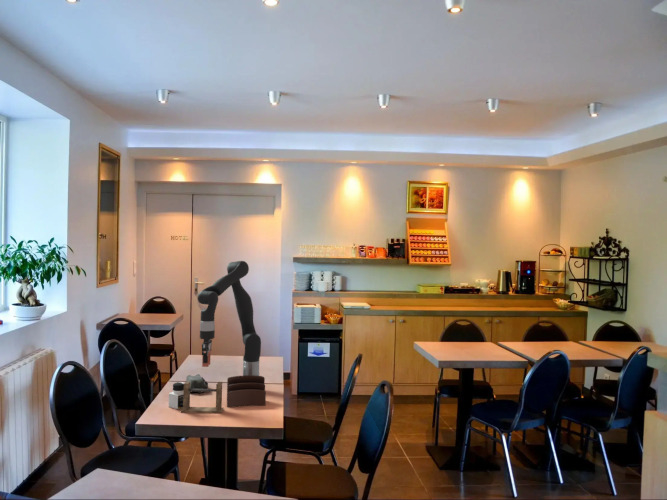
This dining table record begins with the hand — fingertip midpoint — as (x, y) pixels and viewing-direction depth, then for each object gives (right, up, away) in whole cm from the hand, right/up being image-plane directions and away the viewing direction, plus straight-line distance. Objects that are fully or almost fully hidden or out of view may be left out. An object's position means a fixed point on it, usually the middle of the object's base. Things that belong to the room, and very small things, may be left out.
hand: (206, 361), depth 267 cm
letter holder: (+20, -23, +3) cm, 31 cm away
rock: (-12, -22, +27) cm, 37 cm away
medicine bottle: (-13, -22, -5) cm, 26 cm away
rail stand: (+1, -22, -11) cm, 25 cm away
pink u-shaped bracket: (0, -2, 0) cm, 2 cm away
